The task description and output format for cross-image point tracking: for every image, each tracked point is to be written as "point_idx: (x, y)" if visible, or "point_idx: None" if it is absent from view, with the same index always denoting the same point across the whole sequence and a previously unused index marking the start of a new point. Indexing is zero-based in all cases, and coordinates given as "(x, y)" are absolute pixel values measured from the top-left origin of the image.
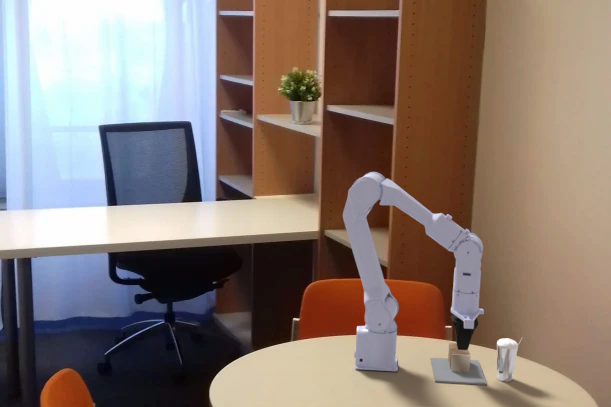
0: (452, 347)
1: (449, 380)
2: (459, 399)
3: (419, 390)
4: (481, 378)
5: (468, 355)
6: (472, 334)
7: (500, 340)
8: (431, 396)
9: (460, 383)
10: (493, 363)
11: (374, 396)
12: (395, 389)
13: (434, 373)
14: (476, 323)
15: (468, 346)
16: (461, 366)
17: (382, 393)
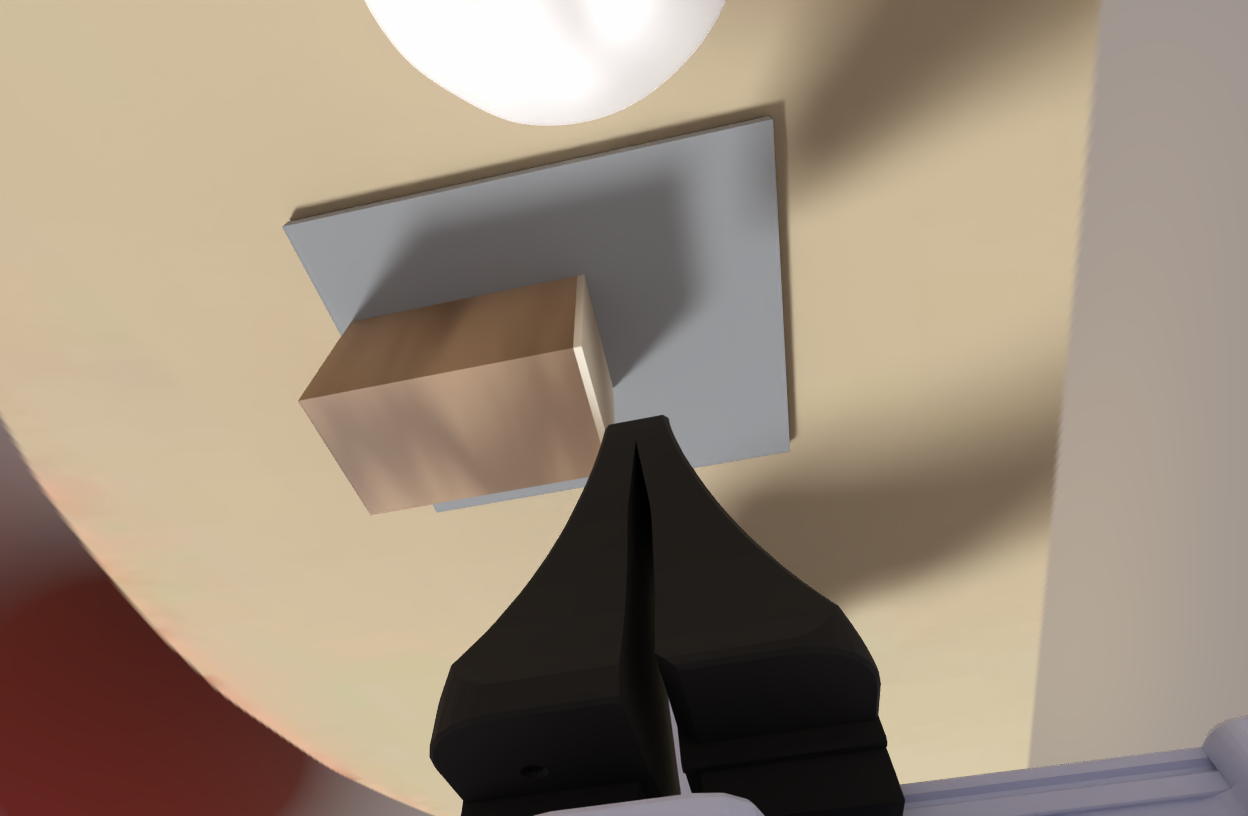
0: (458, 486)
1: (775, 382)
2: (1041, 291)
3: (913, 493)
4: (677, 170)
5: (584, 360)
6: (734, 522)
7: (583, 71)
8: (992, 436)
9: (781, 310)
10: (225, 75)
11: (990, 621)
12: (909, 575)
13: None
14: (855, 667)
15: (673, 434)
16: (597, 351)
17: (957, 605)
